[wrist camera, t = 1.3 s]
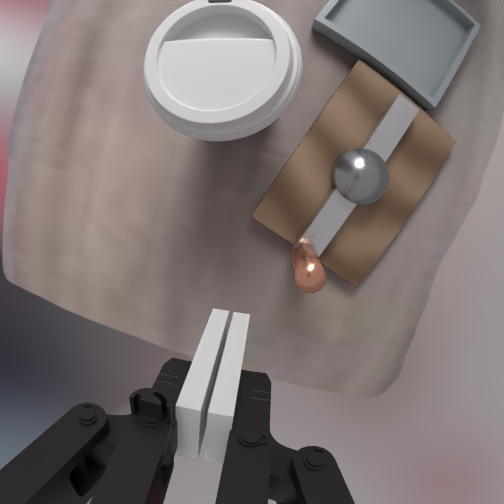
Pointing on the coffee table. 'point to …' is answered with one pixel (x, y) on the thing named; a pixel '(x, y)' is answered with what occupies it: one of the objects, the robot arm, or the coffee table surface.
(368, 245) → the crank base
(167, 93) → the coffee cup
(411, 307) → the coffee table surface
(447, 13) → the tray
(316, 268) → the crank
